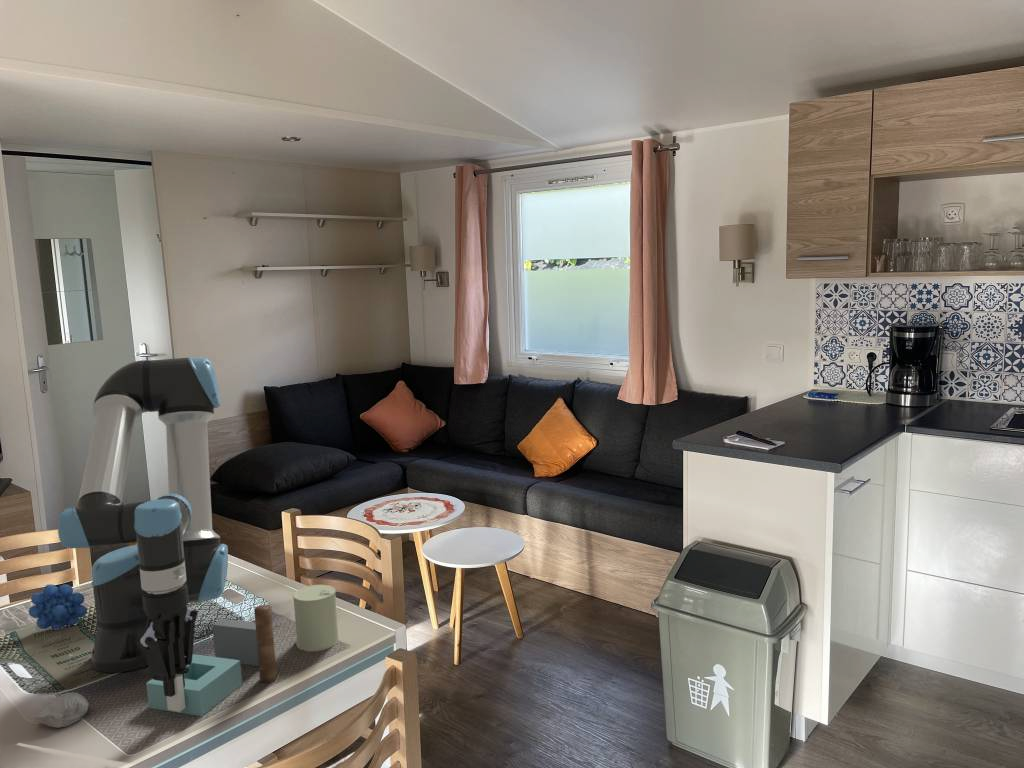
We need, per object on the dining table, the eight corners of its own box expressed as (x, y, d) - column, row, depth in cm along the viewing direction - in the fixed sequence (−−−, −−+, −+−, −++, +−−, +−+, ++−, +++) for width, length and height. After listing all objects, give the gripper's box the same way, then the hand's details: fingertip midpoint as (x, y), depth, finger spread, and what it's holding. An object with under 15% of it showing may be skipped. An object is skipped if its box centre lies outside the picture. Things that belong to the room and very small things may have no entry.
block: (148, 707, 147) (146, 683, 147) (192, 676, 159) (190, 653, 158) (201, 716, 144) (199, 690, 143) (242, 684, 155) (240, 660, 155)
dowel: (256, 682, 156) (250, 610, 154) (266, 674, 159) (260, 604, 157) (270, 684, 155) (264, 612, 153) (279, 676, 158) (274, 605, 156)
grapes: (33, 646, 176) (27, 595, 174) (30, 635, 181) (24, 586, 179) (91, 631, 182) (86, 582, 181) (87, 621, 188) (81, 574, 186)
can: (328, 653, 167) (324, 599, 166) (288, 650, 169) (284, 597, 168) (345, 634, 176) (342, 583, 175) (308, 631, 178) (304, 581, 176)
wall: (215, 660, 166) (212, 624, 165) (224, 653, 168) (221, 618, 167) (263, 666, 162) (260, 630, 161) (272, 660, 165) (269, 624, 164)
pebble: (60, 736, 139) (57, 710, 138) (27, 729, 142) (24, 704, 141) (100, 711, 147) (97, 686, 147) (67, 705, 150) (64, 680, 149)
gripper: (154, 603, 133) (167, 731, 136) (206, 574, 145) (217, 693, 148) (119, 598, 135) (133, 725, 139) (173, 571, 148) (184, 688, 151)
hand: (176, 708), depth 144 cm, fingers closed
